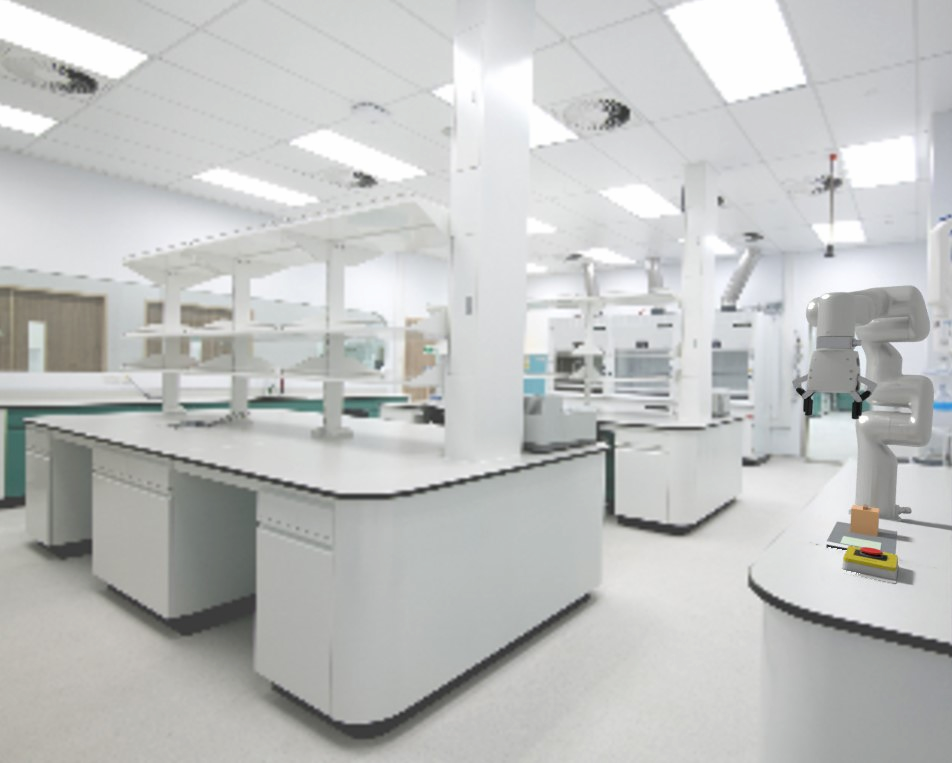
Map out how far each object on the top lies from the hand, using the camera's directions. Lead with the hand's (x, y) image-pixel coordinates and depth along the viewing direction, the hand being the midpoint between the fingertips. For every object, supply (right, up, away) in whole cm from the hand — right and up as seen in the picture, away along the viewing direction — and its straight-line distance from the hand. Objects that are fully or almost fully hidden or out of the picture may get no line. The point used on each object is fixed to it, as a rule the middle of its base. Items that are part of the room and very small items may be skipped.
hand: (831, 417), depth 130 cm
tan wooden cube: (+15, -30, +10) cm, 35 cm away
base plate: (+12, -32, +6) cm, 34 cm away
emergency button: (0, -32, -13) cm, 35 cm away
